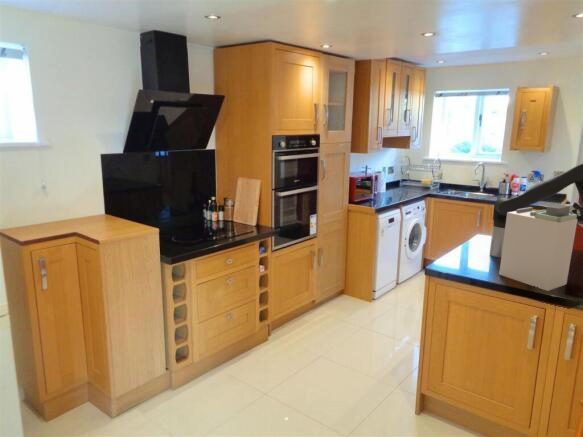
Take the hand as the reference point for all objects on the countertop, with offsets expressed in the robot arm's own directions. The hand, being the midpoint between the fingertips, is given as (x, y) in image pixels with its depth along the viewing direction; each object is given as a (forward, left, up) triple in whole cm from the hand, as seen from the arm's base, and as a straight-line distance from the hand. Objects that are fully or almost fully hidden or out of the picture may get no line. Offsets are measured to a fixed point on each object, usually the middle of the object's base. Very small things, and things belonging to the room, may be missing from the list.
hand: (570, 203), depth 199 cm
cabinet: (-12, -7, -38) cm, 40 cm away
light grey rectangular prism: (-3, -4, -5) cm, 7 cm away
